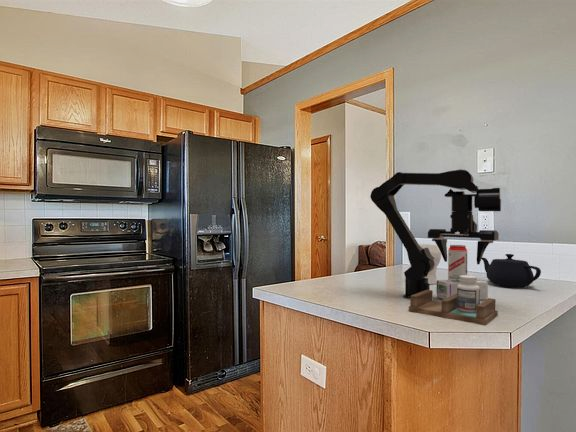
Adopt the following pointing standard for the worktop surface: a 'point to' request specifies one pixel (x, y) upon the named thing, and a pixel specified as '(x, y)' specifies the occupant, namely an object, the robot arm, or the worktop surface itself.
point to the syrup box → (450, 288)
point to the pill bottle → (468, 294)
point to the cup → (437, 256)
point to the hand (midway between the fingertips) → (461, 263)
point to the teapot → (510, 272)
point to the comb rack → (452, 308)
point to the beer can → (457, 261)
